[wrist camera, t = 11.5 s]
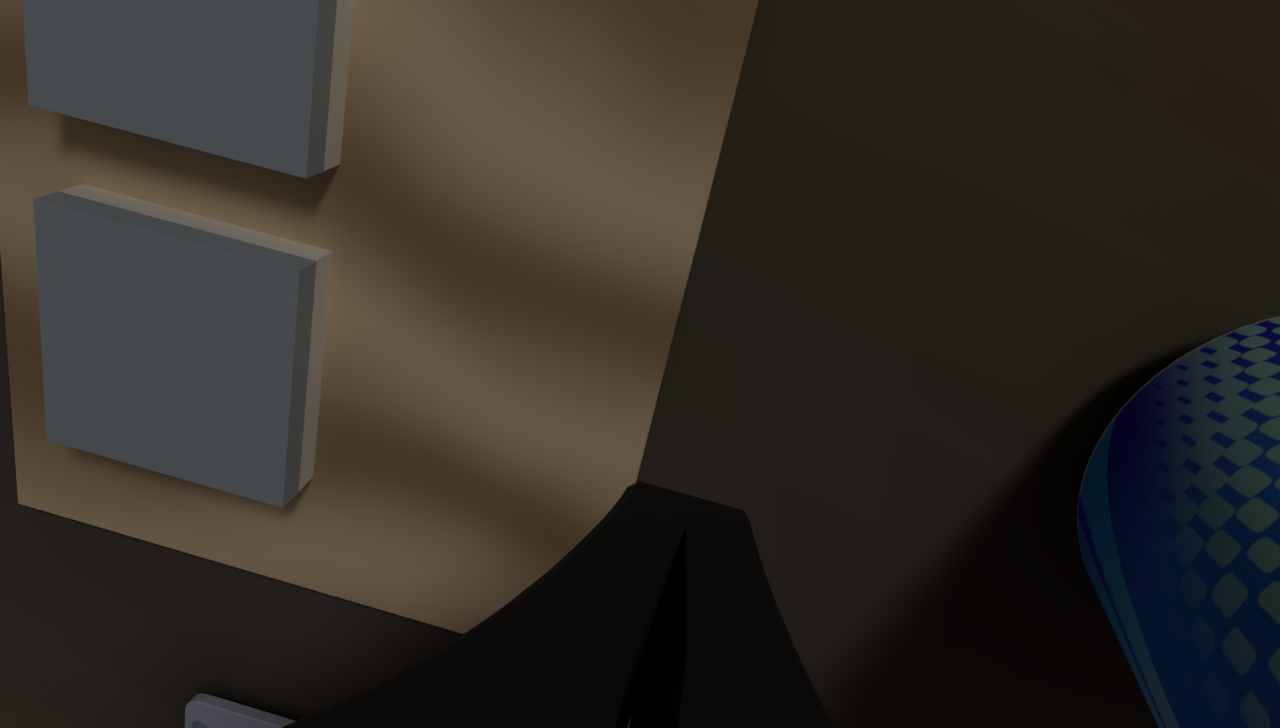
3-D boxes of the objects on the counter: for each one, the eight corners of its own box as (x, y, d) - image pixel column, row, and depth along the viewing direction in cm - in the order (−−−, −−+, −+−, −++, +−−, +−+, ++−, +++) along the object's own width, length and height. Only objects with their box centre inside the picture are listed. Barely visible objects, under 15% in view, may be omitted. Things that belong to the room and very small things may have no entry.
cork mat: (590, 659, 25) (587, 670, 24) (29, 495, 26) (18, 503, 25) (845, -337, 16) (846, -344, 15) (-37, -532, 17) (-56, -543, 16)
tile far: (282, 508, 22) (46, 439, 22) (313, 476, 23) (89, 412, 24) (299, 271, 20) (33, 199, 20) (332, 251, 21) (82, 184, 21)
